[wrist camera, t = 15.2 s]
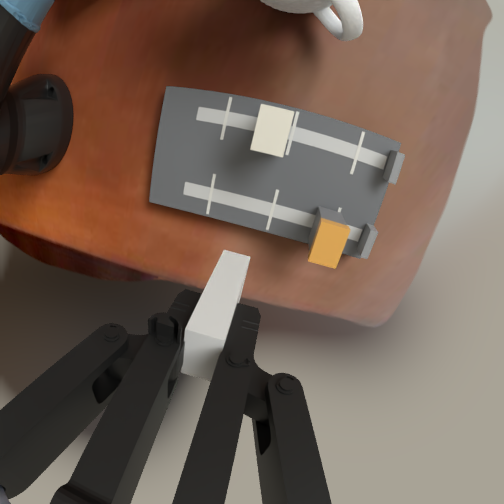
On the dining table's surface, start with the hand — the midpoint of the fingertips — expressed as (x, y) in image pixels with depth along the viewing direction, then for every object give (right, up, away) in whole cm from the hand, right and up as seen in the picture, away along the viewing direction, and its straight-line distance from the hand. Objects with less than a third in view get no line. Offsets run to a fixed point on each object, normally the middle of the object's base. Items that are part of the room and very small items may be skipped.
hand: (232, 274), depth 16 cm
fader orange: (+8, +4, +12) cm, 16 cm away
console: (+3, +10, +13) cm, 17 cm away
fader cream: (+3, +13, +9) cm, 16 cm away
